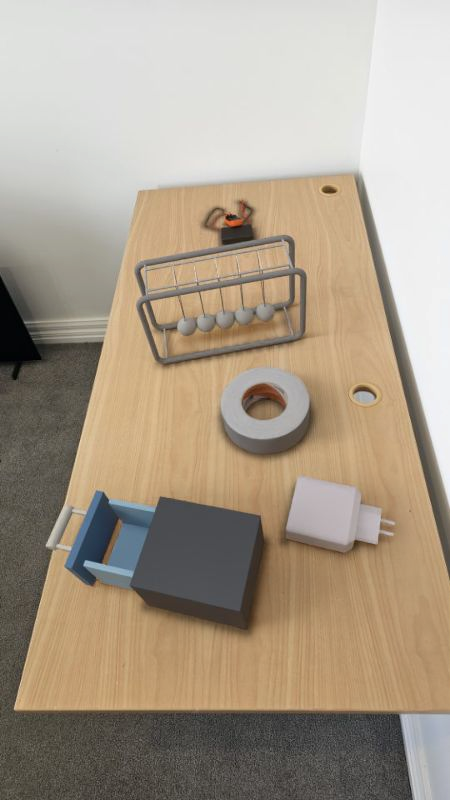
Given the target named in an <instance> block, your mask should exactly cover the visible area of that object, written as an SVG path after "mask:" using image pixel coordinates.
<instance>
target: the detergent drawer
mask: <svg viewBox="0 0 450 800" xmlns="http://www.w3.org/2000/svg"><path fill="white" fill-rule="evenodd" d="M155 509H156V506H152V505H147V504H141V503H136V502H132V501H131V502H130V501H128V500H127V501H126V500H121V499H118V498H117V499H116V498H112V497H111V498H109V496H107V495H106V493H105V492H104V491H102V490H98V489H97V490H95V492H94V494H93V497H92V499H91V502H90V503H89V506H88V509H87V510H84V509H79V508H75V507H74V506H72V505H71V504H68V503H67V504H66V503H65V504H63V507H62V509H61V511H60V513H59V515H58V518H57V520H56V522H55V523H54V524H55V525H54V526H53V528H52V531H51V533H50V535H49V537H48V540H47V542H46V544H45V548H47V549H49V550H50V551H57V550H61V551H65V552H69V554H68V556H67V558H66V561H65V563H64V565H63V567H64V568H65V569H66V570H67V571H69V572H70V573H71V574H72V575H74V576H75V577H76V578H77V579H78V580H80V581H81V582H82V583H83V584H85V585H86V586H90V587H94V585H95V583H96V580H98V581H99V582H100V583H101V584H104V585H109V586H113V587H117V588H121V589H125V590H129V591H133V592H135V591H134V590H133V589H132V588H131V587H130V582H131V579H132V576H133V574H134V571H135V568H136V565H137V562H138V559H139V556H140V553H141V550H142V547H143V544H144V541H145V539H146V536H147V533H148V530H149V527H150V524H151V521H152V518H153V515H154V512H155ZM73 514H76V515H80V516H84V518H83V521H82V523H81V525H80V527H79V530H78V532H77V534H76V536H75V539H74V541H73V544H72V546H70V545H65V544H62V543H61V540H62V538H63V536H64V533H65V531H66V529H67V526H68V525H69V522H70V520H71V517H72V516H73ZM119 520H120V521H121V522H122V524H121V526H120V528H119V532H118V534H117V537H116V540H115V543H114V545H113V547H112V549H111V553H110V556H109V559H108V561H107V564H104V563H103V562H104V560H105V557H106V554H107V551H108V549H109V546H110V544H111V541H112V538H113V535H114V533H115V530H116V527H117V525H118V523H119Z"/></svg>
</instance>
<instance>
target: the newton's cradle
mask: <svg viewBox="0 0 450 800" xmlns="http://www.w3.org/2000/svg"><path fill="white" fill-rule="evenodd" d="M276 243H278V244H276ZM286 243H287V244H288V248H287V245H286ZM270 244H274V245H270ZM265 245H267V246H265ZM259 246H260V247H259ZM262 246H263V247H262ZM253 247H254V248H253ZM255 247H257V248H255ZM280 247H283V248H284V252H285V255H286V258H287V260H288V263H285V264H280V265H274V266H268V267H263V266H262V262H261V259H260V255H259V252H258V251H264V250H269V249H274V248H280ZM249 248H251V249H249ZM245 249H246V250H245ZM238 250H241V251H238ZM232 251H235V252H232ZM226 252H229V253H226ZM252 252H256V256H257V264H258V268H257V269H251V270H246V271H242V272H241V269H240V264H239V261H238V255H242V254H247V253H252ZM222 253H226V254H222ZM216 254H219V255H216ZM210 255H214V256H210ZM206 256H209V257H206ZM230 256H235V260H236V261H235V262H236V269H237V272H236V273H231V274H225V275H219V271H218V265H217V260H216V259H220V258H225V257H230ZM199 257H203V258H199ZM194 258H196V259H194ZM197 258H198V259H197ZM189 259H192V260H189ZM183 260H187V261H183ZM208 260H214V264H215V265H214V266H215V271H216V276H213V277H209V278H203V279H198V274H197V270H196V263H197V262H203V261H208ZM179 261H181V262H179ZM172 262H176V263H172ZM167 263H168V264H167ZM169 263H170V264H169ZM192 263H193V269H194V274H195V280H192V281H187V282H182V283H181V282H180V283H178V280H177V275H176V272H175V267H176V266H177V267H178V266H182V265H187V264H188V265H189V264H192ZM163 264H165V265H163ZM156 265H160V266H156ZM151 266H154V267H151ZM147 267H149V268H147ZM171 267H172V273H173V276H174V277H173V281H174V284H171V285H165V286H160V287H159V286H158V287H155V288H148V272H149V271H155V270H160V269H165V268H171ZM285 267H288V268H285ZM280 268H285V269H280ZM142 269H143V273H144V278H143V275H142V272H141V271H142ZM275 269H280V270H275ZM269 270H273V271H269ZM133 271H134V276H135V279H136V282H137V284H138V287H139V291H140V294H141V296H140V297H139V298H138V299H137V300H136V304H135V308H136V311H137V315H138V317H139V320H140V322H141V325H142V329H143V331H144V334H145V337H146V339H147V342H148V345H149V348H150V351H151V354H152V357H153V358H154V361H156V362H157V363H159V364H164V365H167V364H174V363H179V362H185V361H190V360H195V359H202V358H205V357H212V356H216V355H223V354H230V353H233V352H239V351H245V350H250V349H256V348H261V347H266V346H271V345H277V344H285V343H288V342H294V341H298V340H300V339H301V338H303V336H304V335H305V334H306V328H307V327H306V326H307V325H306V324H307V286H308V285H307V284H308V283H307V282H308V277H307V273H306V271H305V270H304V269H302V268H300V267H296V242H295V240H294V238H293V237H292V236H290V235H288V234H279V235H274V236H273V235H272V236H269V237H263V238H258V239H253V240H252V241H246V242H238V243H230V244H224V245H219V246H214V247H209V248H203V249H199V250H193V251H186V252H182V253H177V254H172V255H165V256H159V257H155V258H149V259H144V260H141V261H139V262H138V263H137V264H136V265H135V267H134V270H133ZM264 271H269V272H264ZM258 272H259V273H258ZM253 273H257V274H253ZM247 274H248V275H247ZM249 274H252V275H249ZM243 275H247V276H243ZM296 275H297V276H299V331H298V332H297V333H295V334H294V331H293V326H292V323H291V321H290V318H289V314H288V311H287V308H289V307H290V306H292V304H294V302H295V299H296ZM237 276H238V277H237ZM232 277H235V278H232ZM283 277H288V284H289V285H288V290H289V291H288V292H289V294H288V297H289V298H288V300H287V301H285V302H280V303H275V304H271V303H269V302H266V296H265V284H264V281H266V280H272V279H278V278H283ZM226 278H230V279H226ZM220 279H225V280H220ZM214 280H217V281H215V282H210V281H214ZM204 282H208V283H204ZM255 282H260V286H261V293H262V294H261V295H262V301H263V302H262V303H260V304H259V305H257V307H253V308H250V307H249V306H245V305H244V294H243V285H245V284H250V283H255ZM199 283H203V284H199ZM192 284H196V285H193V286H189V285H192ZM182 286H187V287H182ZM234 286H239V291H240V298H241V305H242V306H240V307H238V308H237V309H236V311H230V310H227V309H225V307H224V300H223V295H222V289H223V288H229V287H234ZM179 287H182V288H179ZM171 288H175V289H171ZM166 289H170V290H166ZM218 289H219V295H220V299H221V300H220V301H221V305H222V306H221V307H222V310H220V311H219V312H217V314H214V315H212V314H210V313H205V309H204V304H203V299H202V294H201V292H206V291H212V290H218ZM161 290H165V291H161ZM154 291H155V292H154ZM156 291H160V292H156ZM149 292H154V293H149ZM196 293H198V294H199V300H200V304H201V308H202V314H200V315H199V316H198V317H197V318H191V317H189V316H186V315H185V311H184V306H183V302H182V298H181V296H185V295H190V294H196ZM174 297H177V299H178V302H179V306H180V309H181V313H182V315H183V317H182V318H180V319H179V320H178V321H176V322H171V323H165V324H161V323H158V321H157V319H156V315H155V313H154V309H153V306H152V303H151V302H153V301H158V300H163V299H168V298H174ZM143 305H144V306H143ZM144 307H145V308H146V312H145V309H144ZM281 309H283V311H284V314H285V317H286V321H287V324H288V328H289V330H290V335H285V336H280V337H274V338H269V339H263V340H257V341H251V342H248V343H242V344H236V345H231V346H226V347H220V348H215V349H209V350H204V351H198V352H193V353H188V354H182V355H175V356H171V357H169V353H168V341H167V330H173V329H177V331H178V333H179V334H180V335H182V336H183V337H191V336H192V335H194V334H195V332H196V331H197V329H198V330H199V331H200V332H202V333H204V334H205V333H208V334H209V333H211V332H212V331H213V330H214V329H215V328H216V325H217V326H218V327H219V329H222V330H229V329H230V328H232V327H233V326H234V324H235V322H236V323H237V324H238V325H240V326H242V327H243V326H244V327H245V326H248V325H251V323H252V322H253V320H254V317H255V316H256V318H257V319H258V320H259V321H260V322H263V323H268V322H270V321H272V320H273V318H274V317H275V316H276V315H275V313H276V311H277V310H281ZM146 313H147V315H148V317H147V315H146ZM254 314H255V315H254ZM148 318H149V321H150V324H151V325H152V327H153V328H154V329H156V330H158V331H163V336H164V337H163V338H164V350H165V357H161V356H160V354H159V350H158V348H157V344H156V342H155V339H154V335H153V333H152V330H151V327H150V324H149V321H148Z"/></svg>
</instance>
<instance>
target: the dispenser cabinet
mask: <svg viewBox="0 0 450 800" xmlns="http://www.w3.org/2000/svg"><path fill="white" fill-rule="evenodd" d="M156 504H157V505H156V506H155V507H156V509H155V512H154V515H153V518H152V521H151V524H150V527H149V530H148V533H147V536H146V539H145V541H144V544H143V547H142V550H141V553H140V556H139V559H138V562H137V565H136V568H135V571H134V574H133V576H132V579H131V582H130V587H131V588H132V589H133V590H134V591H133V590H132V591H133V592H135V593H136V594H137V595H138V597H140V598H141V600H143V602H145V603H146V604H147V606H149V607H153V608H157V609H160V610H164V611H167V612H173V613H177V614H181V615H184V616H188V617H193V618H196V619H197V618H198V619H201V620H205V621H208V622H213V623H217V624H221V625H224V626H225V625H226V626H230V627H233V628H238V629H242V630H245V631H247V630H248V627H249V621H250V618H251V617H250V616H251V611H252V607H253V602H254V597H255V593H256V587H257V582H258V578H259V573H260V568H261V563H262V560H263V559H262V558H263V554H264V553H263V552H264V549H265V543H266V542H265V541H266V540H265V534H264V529H263V522H262V516H261V514H255V513H250V512H245V511H240V510H234V509H230V508H224V507H219V506H213V505H209V504H203V503H198V502H192V501H188V500H182V499H176V498H171V497H166V496H159V497H158V501H157V503H156Z"/></svg>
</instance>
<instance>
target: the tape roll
mask: <svg viewBox="0 0 450 800" xmlns="http://www.w3.org/2000/svg"><path fill="white" fill-rule="evenodd" d="M262 400H263V401H264V400H271V401H275V402H278V403H279V404H281V405H282V406H283V408H284V410H283V411H282V412H281V413H280V414H278V415H277V416H275V417H273V418H269V419H258V418H255V417H252V416H250V414H248V413H247V410H248V409H249V408H250V407H251V406H252V405H253V404H254V403H255V404H256V403H257V402H259V401H262ZM219 405H220V406H219V407H220V413H221V417H222V422H223V423H222V424H223V427H224V430H225V433H226V434H227V436H228V438H229V439H230V440H231V442H233V444H235V445H236V446H237V447H239V448H240V449H242V450H244V451H247V452H249V453H253V454H257V455H271V454H277V453H281V452H284V451H287V450H288V449H290V448H293V446H295V445H296V444H298V443H299V442H300V441H301V439H302V438H303V437H304V435H306V432H307V431H308V428H309V426H310V418H311V400H310V393H309V390H308V388H307V386H306V385H305V383H304V382H303V380H302V379H301V378H299V377H297V375H295V374H294V373H292V372H291V371H287V370H285V369H283V368H281V367H276V366H275V367H274V366H258V367H253V368H250V369H246V370H244V371H242V372H241V373H239V374H237V375H236V376H235V377H234V378H233V379H232V380H231V381H230V382H229V383H228V384H227V385H225V388H224V389H223V391H222V394H221V396H220V404H219Z"/></svg>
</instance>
